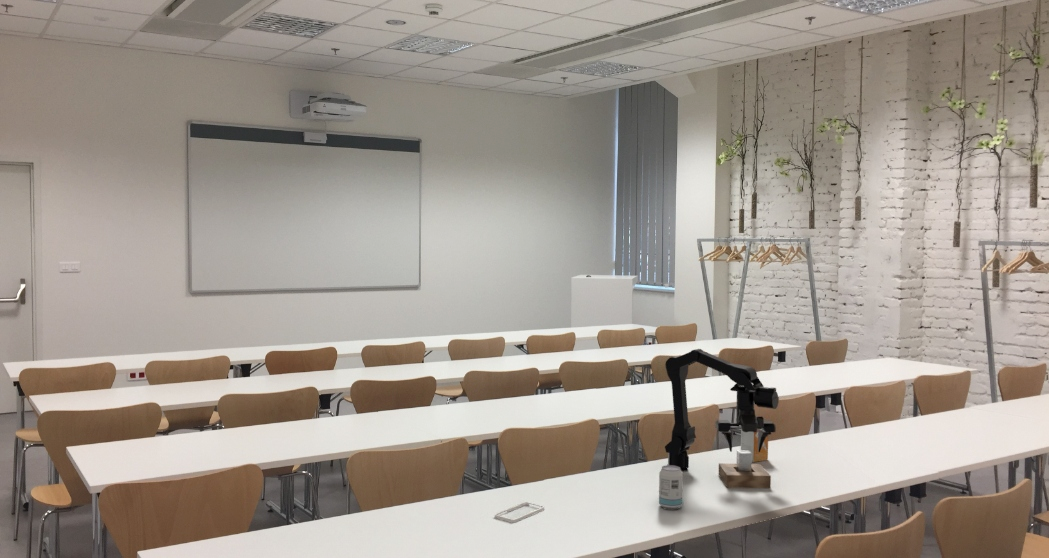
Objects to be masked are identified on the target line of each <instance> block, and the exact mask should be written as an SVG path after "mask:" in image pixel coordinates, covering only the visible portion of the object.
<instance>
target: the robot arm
mask: <svg viewBox="0 0 1049 558" xmlns="http://www.w3.org/2000/svg"><path fill="white" fill-rule="evenodd" d="M695 363H699V364H700V365H703V366H704V367H705V366H706V367H708V368H710V369H712V370H714V371H717V372H720V373H721V374H724V375H725V376H727V377H728V378H729V379H730V380H731V381H732V382H734V383H735V384H734V385H733V386H732V387H730V388H729V389H730V391H732V392H736V407H735V409H736V410H735V411H736V419H735V422H730V421H729V420H728V419H716V421H715V425H714V426H715V429H716V431H718V432H719V433H720V434H722V435H724V438H725V440H726V443H727V446H728V450H729V452H731V453H732V451H733V446H732V432H731V431H730V430H731V429H732V430H735V429H737V430H741V429H742V431H743V432H757V429H759V430H758V452H760V450H761V448H762V445H763V442H764V440H765V438H766V437H767V436H768V437H769V436H771V435H772V433H776V428H777V427H776V424H775V423H774V422H772V420H765V419H764V417H763V416H756V409H755V406H756V407H758V408H766V409H772V410H775V409H777V408H778V407H779V400H780V399H779V395H778V392H777V387H772V386H771V387H767V386H766V387H765V385H764V384H763V383H762V381H761V379H759V377H758V373H757V371H756V369H755V368H754V367H752V366H749V365H744V364H740V363H739V364H736V363H733V362H730V361H727V360H725V359H723V358H721V357H718V356H716V355H714V354H711V353H709V352H706V351H704V349H701V348H695V349H692V350H690V351H689V352H687V353H684V354H683V355H681V354H680V355H675V356H671V357H669V358H667V360H666V361H665V364H664V366H665V370H666V373H667V377H668V378H669V380H670V382H671V393H672V404H673V406H672V407H673V417H674V424H673V427H672V431H671V439H670V441H669V442H668V443H667V444H666V445H665V446H664V449H665V453H667V465H673V466H678V467H680V470H681V472H685V471H686V472H688V470H689V467H690V466H689V465H690V464H689V462H690V457H689V455H688V450H690V448H691V446H692V445H693V444H694V443H695V439H697V436H696V427H695V426H691V424H690V422H689V415H688V414H689V412H688V402H687V401H688V400H687V399H688V398H687V390H686V389H687V388H686V386H687V385H686V381H687V377H688V375H689V374H688V373H689V366H691V365H693V364H695Z"/></svg>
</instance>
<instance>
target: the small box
mask: <svg viewBox="0 0 1049 558" xmlns="http://www.w3.org/2000/svg"><path fill="white" fill-rule="evenodd" d="M758 430H759V429H757V432H743V431H742V429H740V450H749V451H750V452H751V453H752V463H757V462H762V461H768V459H769V435H768V436H767V437H766V438H765V440H764V442H763V445H762V448H761V450H760V452H758Z"/></svg>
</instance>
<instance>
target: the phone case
mask: <svg viewBox="0 0 1049 558" xmlns="http://www.w3.org/2000/svg"><path fill="white" fill-rule="evenodd" d="M530 505H533V506H535V507H540V508H537V509H535V510H532V511H530V512H527V513H525V514H523V515H521V516H518V517H516V518H513V519H512V518H509V517H506V516H502V515H500V514H503V513H510V512H511V511H514V510H517V509H519V508H521V507H524V506H530ZM544 510H545V506H544V505H540V504H535V503H532V502H528V501H525V502H521V503H520V504H517V505H515V506H512V507H510V508H507V509H504V510H501V511H500V512H496V513H495V514H494V519H498V520H500V521H505V522H508V523H517V522H519V521H521V520H524V519H526V518H528V517H529V518H530V517H531V516H533V515H535V514H538V513H540V512H543V511H544Z"/></svg>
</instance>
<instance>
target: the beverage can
mask: <svg viewBox="0 0 1049 558" xmlns="http://www.w3.org/2000/svg"><path fill="white" fill-rule="evenodd" d="M658 475H659V476H658V477H659V478H658V482H659V483H658V484H659V485H658V504H659V506H660V507H662V508H663V509H665V510H667V511H668V510H670V511H671V510H672V511H675V510H676V511H677V510H678V509H680V508H681V507H682V506H683V481H684V479H683V478H684V477H683V476H684V474H683V471H681V470H680V467H678V466H673V465H662V466H661V468H660V470H659V474H658Z"/></svg>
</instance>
